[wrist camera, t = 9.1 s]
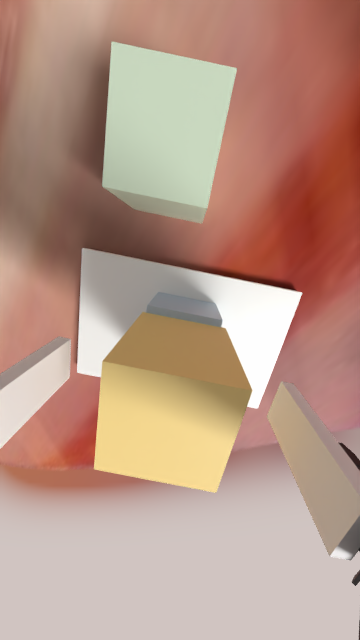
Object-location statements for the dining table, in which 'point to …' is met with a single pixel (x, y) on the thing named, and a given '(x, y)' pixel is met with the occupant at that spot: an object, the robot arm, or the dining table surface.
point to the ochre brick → (170, 403)
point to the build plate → (139, 287)
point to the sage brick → (164, 130)
